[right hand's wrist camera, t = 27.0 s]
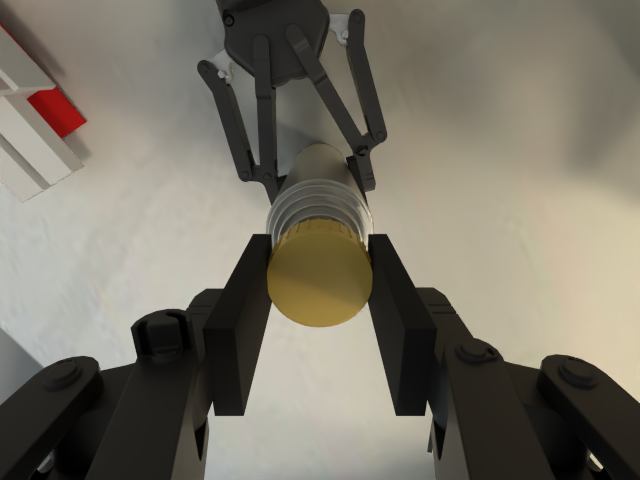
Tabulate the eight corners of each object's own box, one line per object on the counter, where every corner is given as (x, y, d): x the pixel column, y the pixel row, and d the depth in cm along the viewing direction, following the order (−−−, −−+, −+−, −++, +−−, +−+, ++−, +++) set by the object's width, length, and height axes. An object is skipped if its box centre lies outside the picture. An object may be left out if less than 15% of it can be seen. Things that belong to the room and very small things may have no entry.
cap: (389, 267, 14) (397, 285, 13) (316, 324, 15) (316, 346, 14) (323, 196, 13) (323, 206, 12) (249, 262, 14) (241, 279, 13)
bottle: (337, 136, 36) (371, 184, 12) (352, 188, 38) (405, 314, 14) (286, 152, 36) (225, 228, 13) (303, 203, 38) (276, 347, 15)
